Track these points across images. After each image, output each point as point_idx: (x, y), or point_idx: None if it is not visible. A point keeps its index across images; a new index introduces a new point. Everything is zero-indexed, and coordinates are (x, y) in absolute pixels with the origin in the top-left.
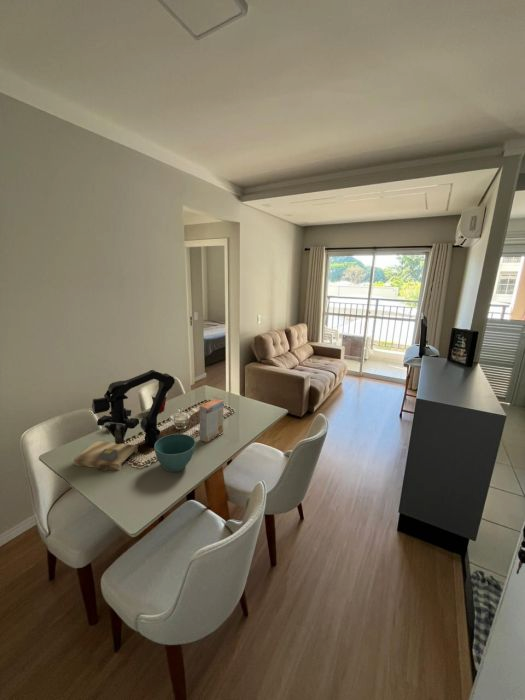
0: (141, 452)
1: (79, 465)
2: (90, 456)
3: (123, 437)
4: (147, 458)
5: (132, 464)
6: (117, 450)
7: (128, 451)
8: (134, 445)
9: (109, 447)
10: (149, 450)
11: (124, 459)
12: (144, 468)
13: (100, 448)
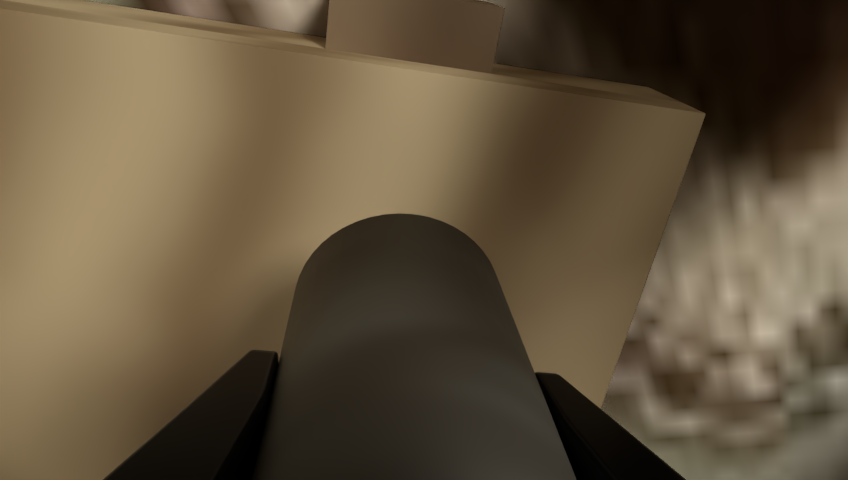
0: (717, 128)
1: None
2: (33, 478)
3: None
4: (818, 273)
5: (643, 397)
6: None
7: (585, 318)
8: (648, 124)
9: (165, 221)
10: (844, 60)
11: None
12: (791, 446)
13: (8, 268)
